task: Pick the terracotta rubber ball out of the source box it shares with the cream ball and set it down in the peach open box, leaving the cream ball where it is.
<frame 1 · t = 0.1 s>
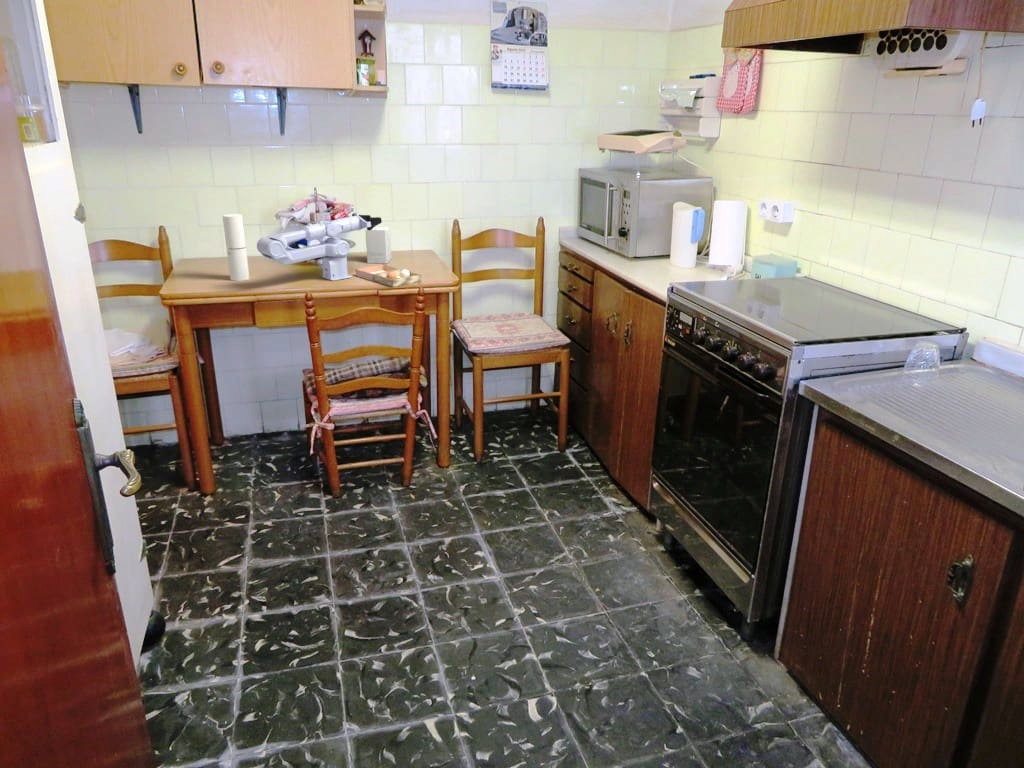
hand: (375, 218, 300), 22 cm above the table, tool horizontal, fingers open, 7 cm apart
source box: (398, 281, 291), on the table
terracotta ball: (391, 276, 288), point 2 cm above the table, touching source box
cream ball: (404, 274, 292), point 2 cm above the table, touching source box
cylindrical container: (240, 279, 290), on the table
peach open box: (378, 275, 299), on the table
supplement box: (379, 262, 324), on the table
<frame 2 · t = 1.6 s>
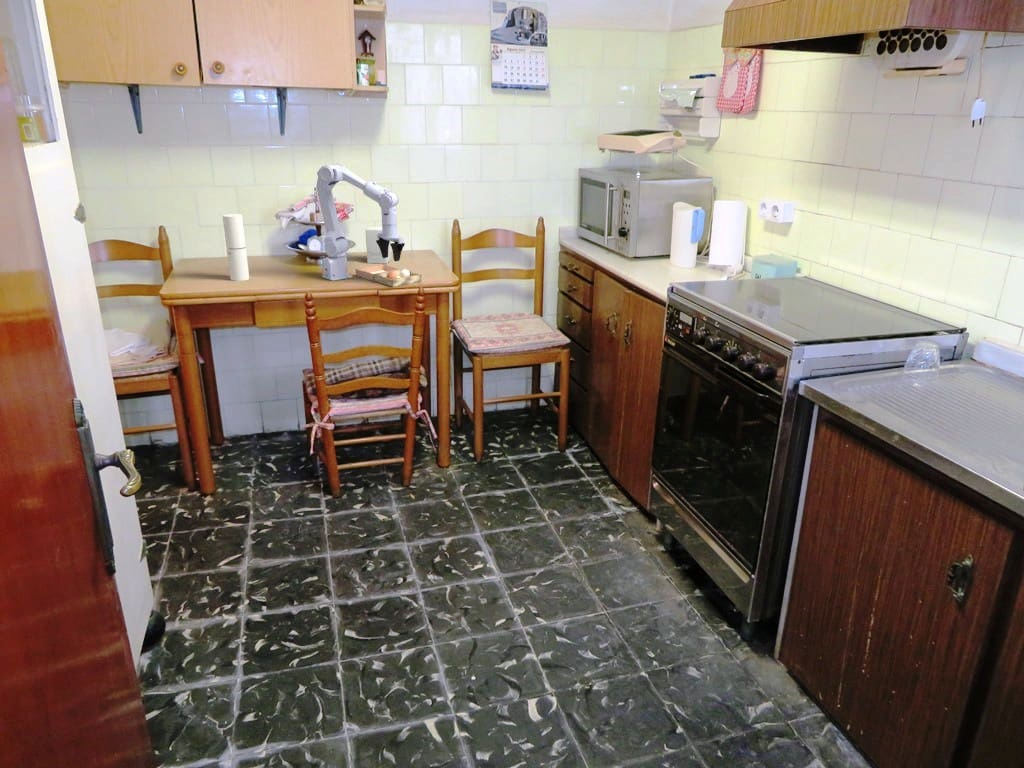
hand: (390, 259, 285), 9 cm above the table, tool pointing down, fingers open, 7 cm apart
nothing on the table moved.
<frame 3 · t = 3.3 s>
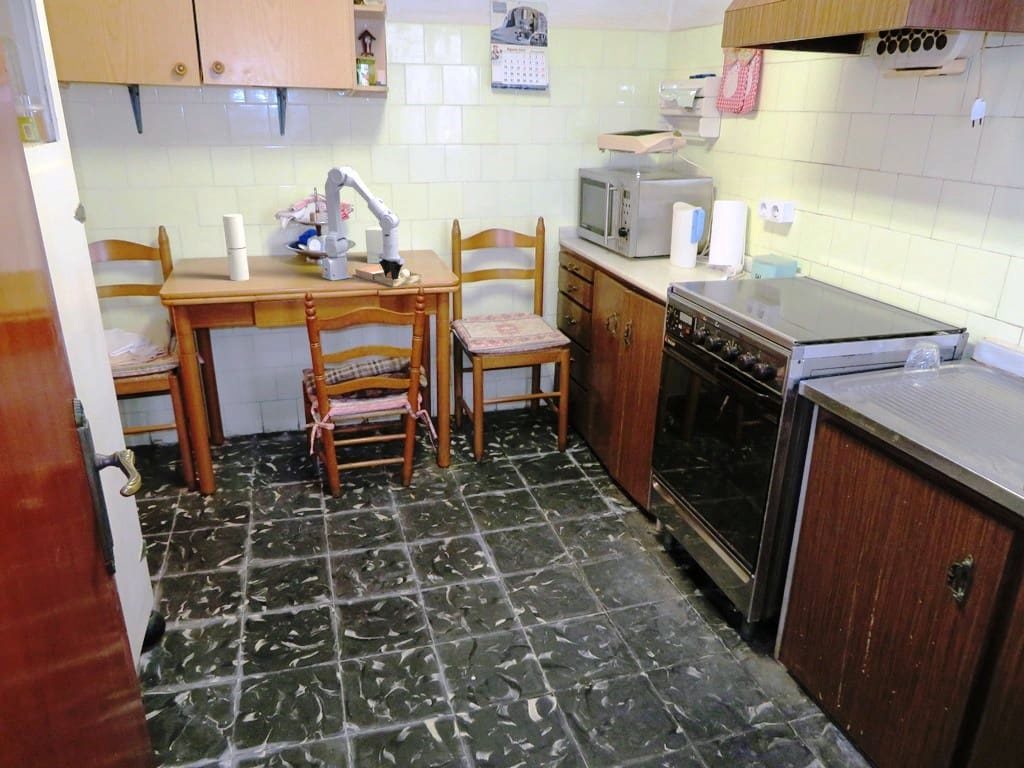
hand: (391, 279, 288), 1 cm above the table, tool pointing down, fingers closed on terracotta ball, 4 cm apart
terracotta ball: (391, 276, 288), point 2 cm above the table, touching gripper, source box
everything else where it was.
when the fingers open (3 cm above the table, at t = 7.4 s): terracotta ball drops 2 cm, resting on peach open box.
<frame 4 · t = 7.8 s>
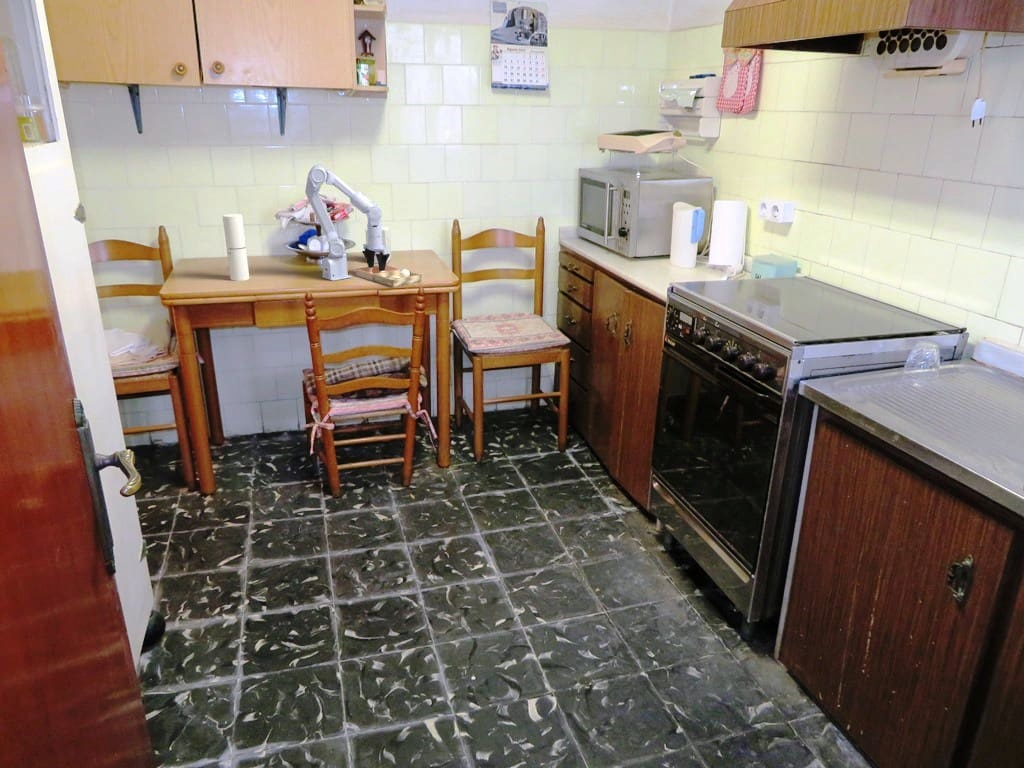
hand: (376, 269, 298), 3 cm above the table, tool pointing down, fingers open, 7 cm apart
terracotta ball: (376, 270, 298), point 2 cm above the table, touching peach open box
everything else where it was.
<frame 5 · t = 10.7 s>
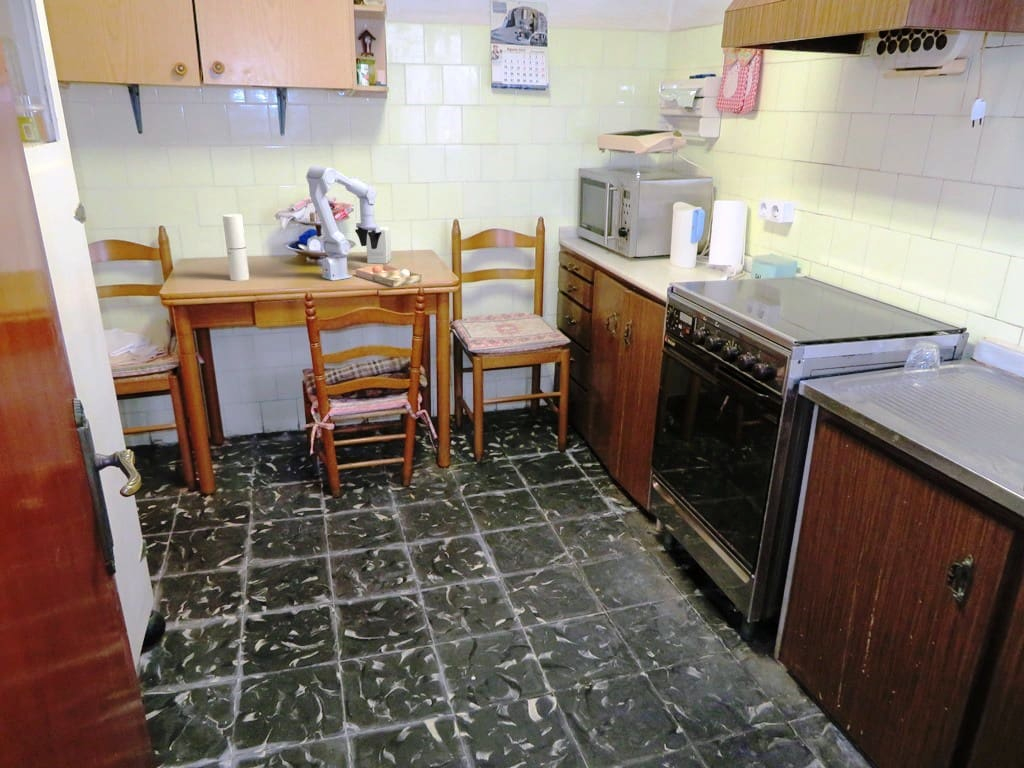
hand: (369, 247, 306), 9 cm above the table, tool pointing down, fingers open, 7 cm apart
nothing on the table moved.
at the end: terracotta ball inside the target area on the peach open box (0.9 cm from its centre), point 2.4 cm above the peach open box's base; cream ball inside the target area on the source box (3.5 cm from its centre), point 2.4 cm above the source box's base; the gripper is holding nothing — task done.
